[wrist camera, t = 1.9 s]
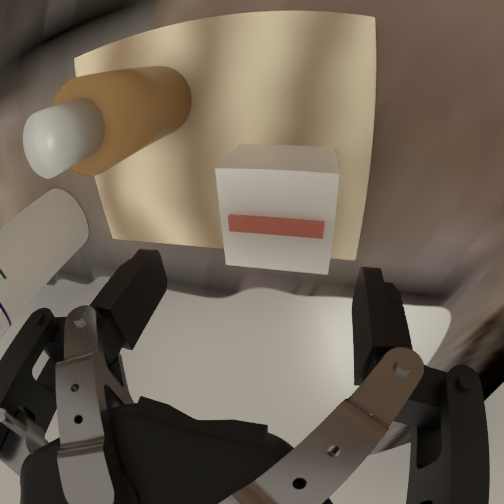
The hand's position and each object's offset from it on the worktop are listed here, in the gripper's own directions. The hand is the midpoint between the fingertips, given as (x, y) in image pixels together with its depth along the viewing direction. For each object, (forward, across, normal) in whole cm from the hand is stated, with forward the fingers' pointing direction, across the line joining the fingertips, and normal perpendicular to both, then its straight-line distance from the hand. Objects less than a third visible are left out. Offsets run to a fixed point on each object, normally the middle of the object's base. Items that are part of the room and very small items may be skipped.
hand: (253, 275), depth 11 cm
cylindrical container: (+10, +22, +4) cm, 25 cm away
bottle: (+8, +8, -6) cm, 13 cm away
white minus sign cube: (+8, 0, 0) cm, 8 cm away
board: (+10, +4, -3) cm, 11 cm away
